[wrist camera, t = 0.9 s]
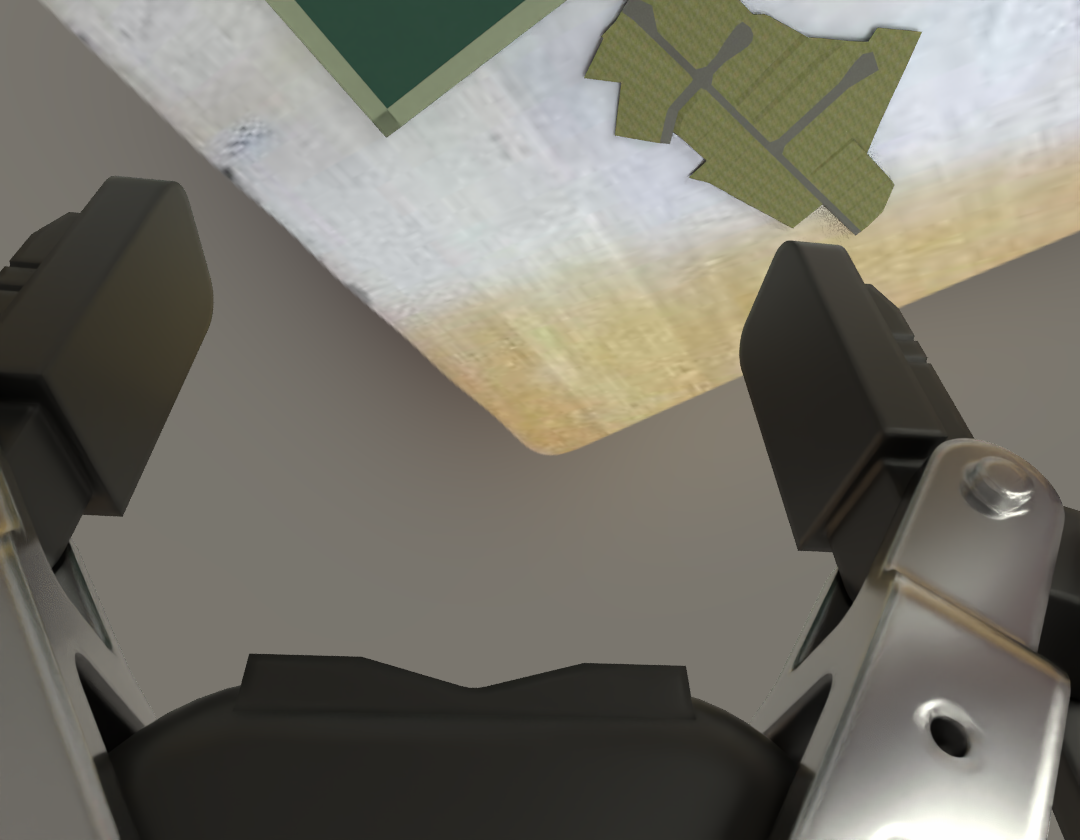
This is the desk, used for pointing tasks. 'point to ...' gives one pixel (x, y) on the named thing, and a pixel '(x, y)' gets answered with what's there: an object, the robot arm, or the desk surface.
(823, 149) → the map
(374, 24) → the chalkboard
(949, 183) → the desk surface
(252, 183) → the desk surface
